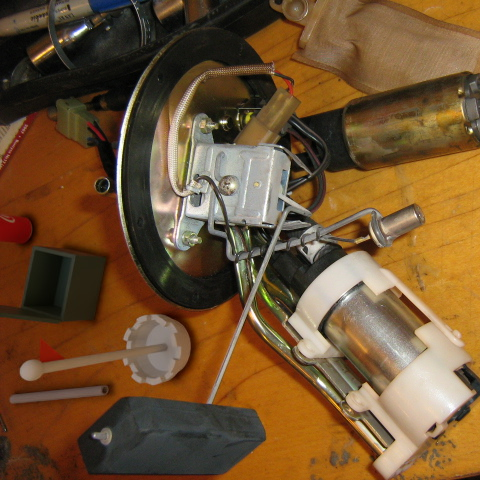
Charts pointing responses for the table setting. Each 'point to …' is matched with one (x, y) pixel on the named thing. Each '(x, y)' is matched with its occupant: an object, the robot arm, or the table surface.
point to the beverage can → (14, 229)
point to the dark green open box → (63, 283)
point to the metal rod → (60, 394)
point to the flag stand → (128, 352)
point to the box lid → (25, 315)
